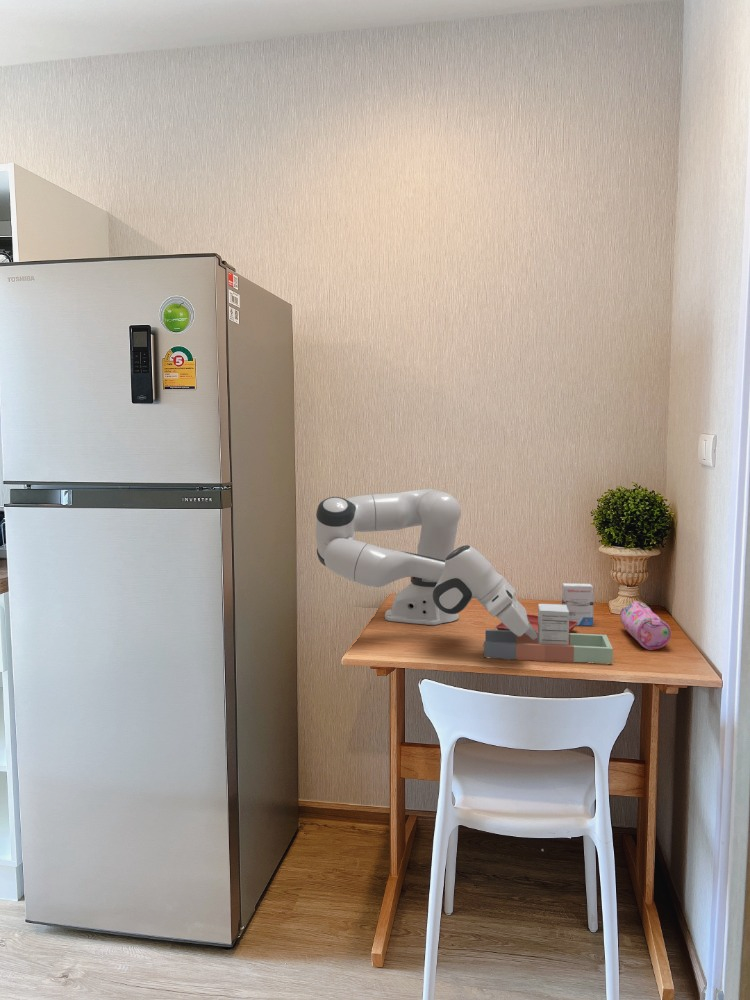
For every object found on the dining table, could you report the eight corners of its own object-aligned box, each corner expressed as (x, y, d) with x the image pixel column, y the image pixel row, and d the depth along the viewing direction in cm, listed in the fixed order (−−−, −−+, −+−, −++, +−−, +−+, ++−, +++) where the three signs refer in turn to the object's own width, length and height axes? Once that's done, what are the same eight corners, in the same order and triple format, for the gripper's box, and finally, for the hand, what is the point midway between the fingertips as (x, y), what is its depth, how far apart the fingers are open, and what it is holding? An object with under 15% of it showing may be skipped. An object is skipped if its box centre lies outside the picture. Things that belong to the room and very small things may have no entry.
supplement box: (537, 650, 195) (538, 603, 194) (566, 652, 194) (567, 604, 192) (538, 659, 188) (539, 610, 186) (568, 660, 186) (569, 611, 185)
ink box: (590, 621, 223) (591, 582, 222) (593, 626, 218) (594, 586, 217) (561, 621, 224) (561, 582, 223) (563, 625, 219) (564, 586, 218)
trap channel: (483, 658, 189) (484, 642, 188) (485, 643, 201) (485, 629, 201) (612, 664, 183) (612, 648, 183) (605, 649, 195) (606, 634, 195)
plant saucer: (578, 632, 213) (578, 620, 213) (557, 648, 198) (557, 636, 198) (518, 623, 223) (518, 612, 223) (494, 638, 208) (494, 626, 207)
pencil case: (618, 629, 216) (619, 598, 215) (651, 630, 214) (652, 599, 214) (635, 651, 194) (636, 617, 194) (671, 652, 193) (673, 618, 192)
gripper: (489, 596, 202) (524, 634, 201) (488, 614, 182) (528, 656, 181) (506, 580, 201) (542, 618, 200) (508, 597, 181) (547, 639, 180)
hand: (535, 636), depth 190 cm, fingers closed, pressing on supplement box
